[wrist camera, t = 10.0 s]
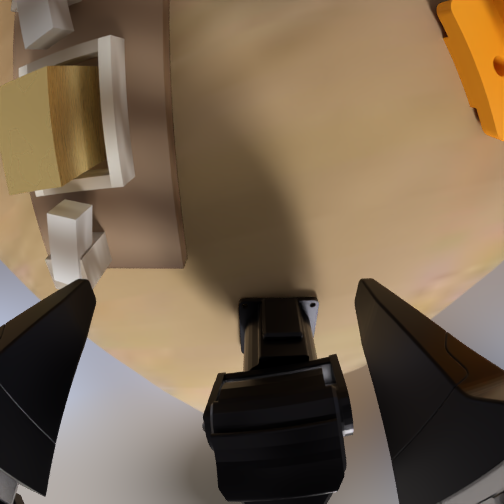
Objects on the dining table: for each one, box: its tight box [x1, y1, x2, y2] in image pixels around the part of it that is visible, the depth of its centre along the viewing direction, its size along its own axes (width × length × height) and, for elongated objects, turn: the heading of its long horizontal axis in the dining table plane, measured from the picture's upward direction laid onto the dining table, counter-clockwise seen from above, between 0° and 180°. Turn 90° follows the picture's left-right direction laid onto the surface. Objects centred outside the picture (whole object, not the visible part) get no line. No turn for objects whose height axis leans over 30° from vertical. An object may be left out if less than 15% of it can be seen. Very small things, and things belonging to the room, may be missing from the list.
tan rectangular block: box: [0, 66, 107, 195], centre depth 13 cm, size 6×4×6 cm, turn 1°
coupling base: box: [11, 0, 187, 289], centre depth 15 cm, size 23×12×6 cm, turn 1°
